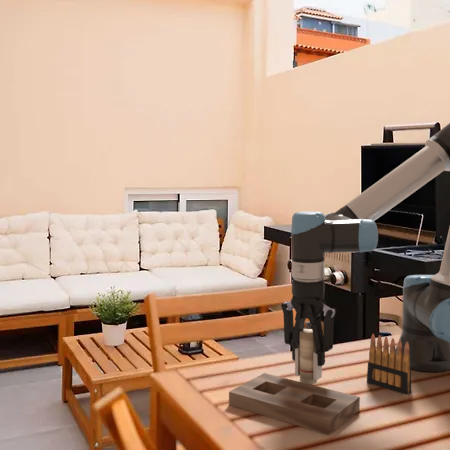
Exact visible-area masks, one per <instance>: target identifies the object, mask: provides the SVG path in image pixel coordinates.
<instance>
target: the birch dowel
mask: <svg viewBox="0 0 450 450" xmlns="http://www.w3.org/2000/svg"><path fill="white" fill-rule="evenodd" d="M299 347H300V367H299V370H300V375H299V382H302V383H306V384H310V385H314V384H317V382H318V380H317V381H315V380H313V353H314V352H315V351H316V346H315V341H314V336H313V330H312V329H303V330H300V345H299Z"/></svg>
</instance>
